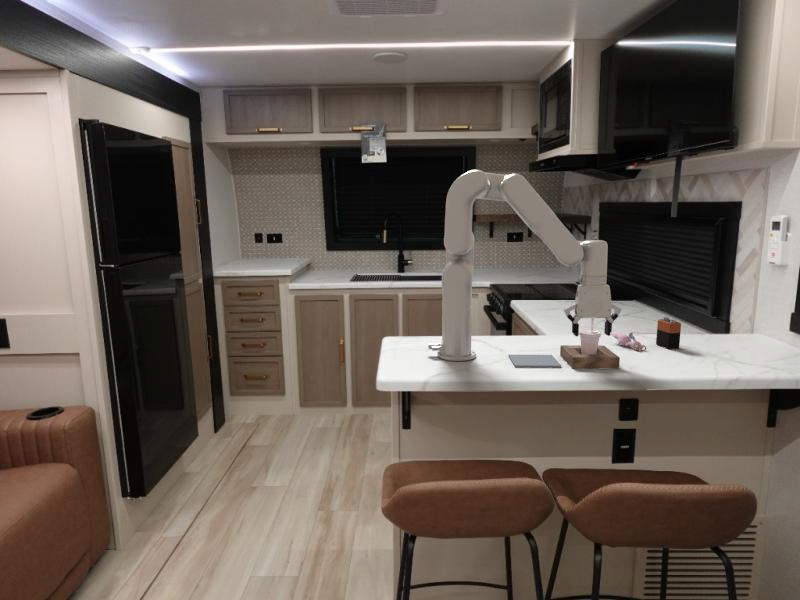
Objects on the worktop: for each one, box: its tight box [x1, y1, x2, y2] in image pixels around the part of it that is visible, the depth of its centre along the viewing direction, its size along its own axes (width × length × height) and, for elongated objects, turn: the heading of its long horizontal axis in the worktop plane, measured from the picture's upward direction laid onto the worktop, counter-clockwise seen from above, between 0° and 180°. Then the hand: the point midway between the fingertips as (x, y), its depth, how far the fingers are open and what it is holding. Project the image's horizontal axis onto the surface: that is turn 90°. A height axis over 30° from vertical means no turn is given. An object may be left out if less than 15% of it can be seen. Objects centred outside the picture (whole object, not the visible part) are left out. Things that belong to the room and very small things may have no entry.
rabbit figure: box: [610, 331, 647, 353], centre depth 184 cm, size 6×6×15 cm
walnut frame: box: [559, 344, 621, 370], centre depth 166 cm, size 14×14×4 cm
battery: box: [655, 316, 682, 350], centre depth 183 cm, size 4×7×10 cm, turn 13°
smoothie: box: [579, 318, 602, 355], centre depth 165 cm, size 6×6×14 cm
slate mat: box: [508, 354, 562, 368], centre depth 167 cm, size 14×12×1 cm
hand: (591, 335), depth 165 cm, fingers open, 9 cm apart
